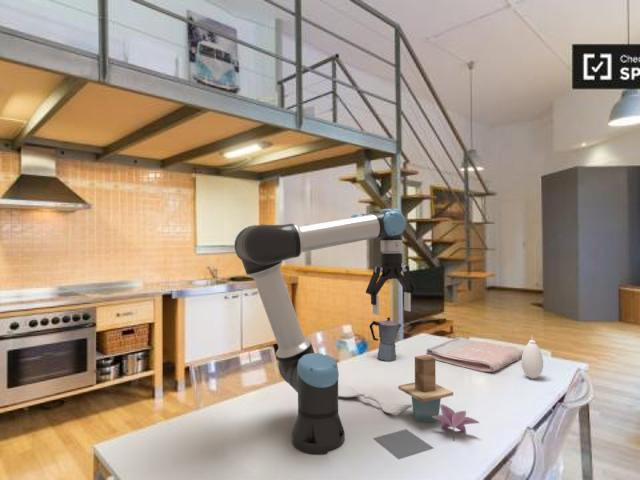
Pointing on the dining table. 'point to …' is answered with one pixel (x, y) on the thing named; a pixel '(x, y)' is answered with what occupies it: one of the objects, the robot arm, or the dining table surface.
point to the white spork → (391, 409)
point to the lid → (425, 381)
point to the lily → (454, 419)
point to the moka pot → (386, 339)
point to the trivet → (403, 443)
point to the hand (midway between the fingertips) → (392, 312)
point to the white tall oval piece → (532, 360)
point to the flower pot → (425, 410)
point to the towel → (475, 354)
